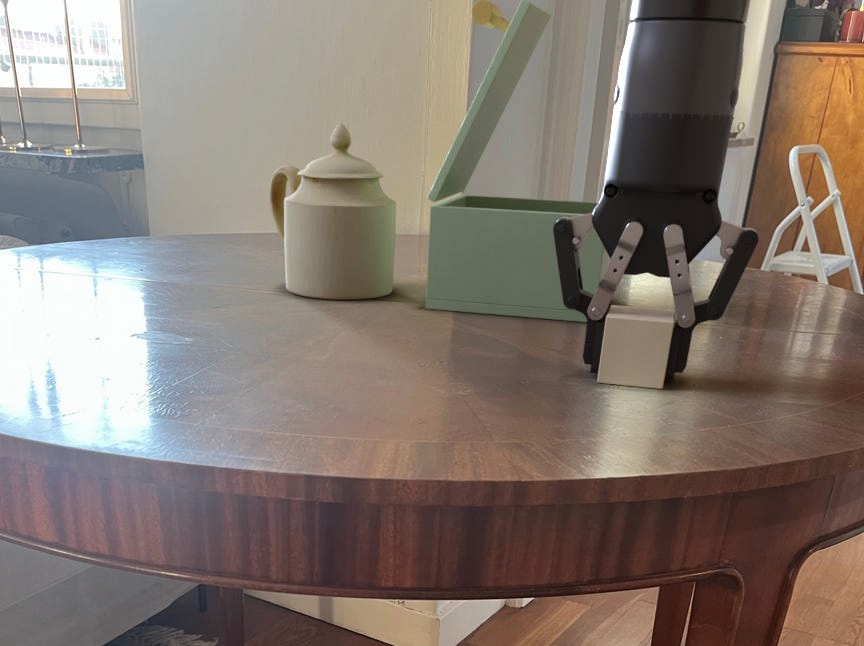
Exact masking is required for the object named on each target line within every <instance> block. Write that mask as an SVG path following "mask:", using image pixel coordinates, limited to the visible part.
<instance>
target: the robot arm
mask: <svg viewBox="0 0 864 646" xmlns="http://www.w3.org/2000/svg"><path fill="white" fill-rule="evenodd" d="M750 5H751V0H631V7H630V13H629V14H630V15H629V23H628V27H627V33H626V37H625V42H624V45H623V49H622V52H621V57H620V62H619V66H618V73H617V81H616V84H615V87H614V91H613V111H612V112H613V113H612V120H611V128H610V135H609V142H608V149H607V150H608V151H607V158H606V165H605V174H604V181H603V182H604V183H603V187H602V193H601V196H600V198H599V201H597V202H598V204H597V205H596V207H595V209H594V211H593V213H588V214H584V215H579V216H575V217H569V216H564V217H561V218H560V219H559V220H557V222H556V223H555V224H554V226H553V234H554V241H555V248H556V255H557V262H558V269H559V276H560V283H561V290H562V297H563V303H564V305H565V307H566V308H568V309H575V310H577V311H579V312H581V313H583V314H584V315H585V317H586V319H587V322H586V328H585V336H584V343H583V352H582V360H583V364H584V365H590V369H589V370H590V371H589V373H590V374H596V375H598V371H599V364H600V357H601V350H602V343H603V336H604V328H605V321H606V316H607V314H608V308H609V306H610V303H611V301H612V300H613V298H614V294H615V293H616V290H617V288H618V286H619V284H620V282H621V280H622V278H623V276H624V275H628V276H629V275H630V276H638V275H643V274H650V275H652V276H655V277H658V278H667V279H668V278H669V279H670V287H671V293H672V298H673V304H674V310H675V319H676V321H674V327H673V332H672V338H671V344H670V349H669V355H668V361H667V367H666V372H665V378H664V381H671V382H672V381H674V380H675V375H676V373H677V374H683V372H684V371H685V369H686V367H687V364H688V358H689V352H690V347H691V343H692V337H693V332H694V329H695V328H696V327H697V326H698V325H699V324H701V323H704V322H710V321H718V320H720V319H721V318H722V317H723V315H724V314H725V311H726V309H727V308H728V305H729V304H730V301H731V299H732V297H733V295H734V293H735V291H736V289H737V287H738V285H739V283H740V280H741V278H742V277H743V274H744V272H745V270H746V268H747V266H748V265H749V262H750V260H751V258H752V256H753V254H754V252H755V249H756V247H757V246H758V244H759V238H760V237H759V235H758V233H757V230H756V229H755V228H754V227H752V226H745V227H742V226H740V225H738V224H734V223H731V222H729V221H727V220H723V219H722V213H721V210H720V207H719V196H720V189H721V185H722V179H723V174H724V168H725V162H726V157H727V153H728V152H727V151H728V146H729V143H730V142H729V141H730V136H731V130H732V126H733V120H734V115H735V109H736V106H737V104H738V100H739V94H740V92H739V88H740V82H741V76H742V71H743V70H742V69H743V62H744V45H745V35H746V34H745V33H746V28H747V27H746V23H747V22H748V16H749V9H750ZM591 228H594V229H595V231H596V232H597V234H598V236H599V238H600V240H601V242H602V244H603V246H604V248H605V250H606V251H607V253H608V255H609V257H610V259H611V260H610V262H609V264H608V266H607V269H606V271H605V273H604V275H603V277H602V279H601V281H600V284H599V286H598V288H597V290H596V292H595V295H594V294H592V293H589V292H587V291H585V290H583V283H582V276H581V268H580V261H579V254H578V249H580V248H581V247H583V245H584V244H585V243H586V240H587V233H588V231H589V230H590V229H591ZM715 236H717V237H718V238H719V239H720V247H719V253H720V256H721V257H722V259H724V260H725V261H724V264H723V266H722V268H721V270H720V272H719V274H718V276H717V279H716V280H715V282H714V285H713V286H712V288H711V291H710V293H709V296H707V299H703V300H700V301H699V300H698V301H694V300H695V299H694V293H693V292H694V291H693V285H692V276H691V269H690V264H691V262H693V260H694V259H695V258H696V257H697V256H698V255H699V254H700V253H701V252H702V251H703V250H704V249H705V247H706V246H707V245H708V244H709V243H710V242H711V241H712V240H713V239H714V238H715Z"/></svg>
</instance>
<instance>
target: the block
mask: <svg viewBox="0 0 864 646" xmlns="http://www.w3.org/2000/svg"><path fill="white" fill-rule="evenodd" d="M675 319H676V311H675V309H667V308H666V309H665V308H654V307H640V306H631V305H619V304H618V305H617V304H611V305H610V307H609V310H608V311H607V315H606V321H605V328H604V336H603V343H602V350H601V357H600V364H599V371H598V374H597V379H596V382H597V383H598V384H606V385H618V386H627V387H636V388H648V389H658V390H663V389H664V383H665V380H664V378H665V372H666V367H667V361H668V355H669V349H670V344H671V338H672V332H673V327H674V322H675Z"/></svg>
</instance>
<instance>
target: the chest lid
mask: <svg viewBox="0 0 864 646" xmlns="http://www.w3.org/2000/svg"><path fill="white" fill-rule="evenodd" d="M470 14H471V15H470V16H471V19H472V21H473V22H474V23H475V24H476V25H478V26H481V27H484V28H487V29H489V30H490V29H491V30H492V29H499V30H500V31H502V32H503V33H505V34H504V36H503V38H502V40H501V43H500V44H499V46H498V48H497V50H496V52H495V54H494V56H493V58H492V61H491V63H490V65H489V67H488V68H487V72H486V73H485V76H484V77H483V79H482V82H481V84H480V86H479V88H478V90H477V92H476V94H475V97H474V99H473V101H472V102H471V105H470V107H469V109H468V111H467V113H466V115H465V117H464V119H463V122H462V124H461V126H460V128H459V129H458V132H457V134H456V136H455V138H454V141H453V142H452V144H451V147H450V149H449V151H448V153H447V155H446V157H445V159H444V161H443V163H442V166H441V167H440V170H439V172H438V173H437V176H436V178H435V180H434V182H433V184H432V186H431V188H430V191H429V192H428V195H427V196H426V198H427V199H428V200H429V201H430V202H432V203H436V202H437V203H438V202H440V201H443V200H446V199H447V198H451V197H452V196H455V195H458V194H460V193H462V192H464V191H465V190H466V188H467V186H468V184H469V182H470V179H471V177H472V176H473V173H474V172H475V170H476V168H477V165H478V163H479V162H480V160H481V158H482V156H483V154H484V152H485V150H486V147H487V146H488V144H489V141H490V139H491V137H492V135H493V134H494V131H495V129H496V127H497V125H498V124H499V121H500V119H501V117H502V115H503V113H504V111H505V109H506V107H507V105H508V104H509V102H510V99H511V97H512V95H513V93H514V91H515V90H516V87H517V85H518V84H519V81H520V79H521V77H522V75H523V73H524V71H525V70H526V67H527V65H528V63H529V61H530V59H531V57H532V55H533V53H534V51H535V49H536V47H537V45H538V43H539V41H540V40H541V37H542V35H543V33H544V31H545V29H546V27H547V25H548V23H549V22H550V19H551V17H552V15H551V14H550V13H549V12H547V11H546V10H543V9H542V8H540V7H538V6H536V5H535V4H533V3H532V2H530V1H528V0H520V2H519V4H518V6H517V8H516V10H515V13H514V14H513V17H512V19H511V21H508V19H506V18H504V17H503V11H502V9H501V8H500V7H499V6H498V5H497V4H495V3H492V2H490V1H488V0H477V1H476V2H475V3H474V4H473V6H472V8H471V13H470Z"/></svg>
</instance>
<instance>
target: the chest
mask: <svg viewBox="0 0 864 646" xmlns="http://www.w3.org/2000/svg"><path fill="white" fill-rule="evenodd" d="M598 202H599V201H583V200H566V199H565V200H564V199H548V198H530V197H516V196H515V197H513V196H497V195H496V196H495V195H478V194H477V195H476V194H460V193H459V195H458V194H457V195H456V196H455V195H454V196H453V197H449V198H448V199H444V200H442V201H439V202H437V203H434V204H433V205H430V207H429V209H430V210H429V226H428V227H429V228H428V229H429V230H428V233H429V234H428V247H427V248H428V250H427V269H426V271H427V272H426V289H425V290H426V293H425V309H426V310H436V311H437V310H438V311H449V312H461V313H473V314H482V315H483V314H484V315H496V316H507V317H519V318H533V319H541V320H554V321H568V322H577V323H579V322H580V323H587V319H586V317H585V315H584V314H583V313H581V312H579V311H577V310H575V309H568V308H566V307H565V305H564V303H563V297H562V290H561V283H560V276H559V269H558V262H557V255H556V248H555V241H554V234H553V226H554V224H555V223H556V222H557V220H559V219H560V218H561V217H564V216H569V217H575V216H579V215H584V214H588V213H593V211H594V209H595V207H596V205H597V204H598ZM578 254H579V261H580V268H581V276H582V283H583V290H585V291H587V292H589V293H592V294H594V295H595V292H596V290H597V288H598V286H599V284H600V281H601V279H602V277H603V275H604V273H605V271H606V269H607V266H608V264H609V262H610V260H611V259H610V257H609V255H608V253H607V251H606V250H605V248H604V246H603V244H602V242H601V240H600V238H599V236H598V234H597V232H596V231H595V229H594V228H591V229H590V230H589V231H588V233H587V240H586V243H585V244H584V245H583V247H581V248H580V249H578Z"/></svg>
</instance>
